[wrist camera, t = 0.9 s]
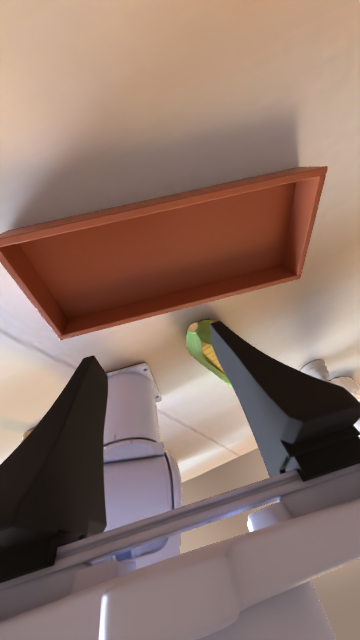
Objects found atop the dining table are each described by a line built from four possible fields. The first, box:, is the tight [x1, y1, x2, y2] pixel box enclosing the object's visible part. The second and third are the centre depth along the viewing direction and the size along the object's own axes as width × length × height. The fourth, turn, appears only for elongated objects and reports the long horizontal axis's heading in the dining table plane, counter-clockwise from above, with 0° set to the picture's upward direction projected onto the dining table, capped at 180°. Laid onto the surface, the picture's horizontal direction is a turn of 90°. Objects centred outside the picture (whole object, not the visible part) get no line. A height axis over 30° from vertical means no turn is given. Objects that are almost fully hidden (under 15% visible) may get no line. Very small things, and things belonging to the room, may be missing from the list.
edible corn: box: [186, 319, 233, 388], centre depth 27 cm, size 5×20×5 cm, turn 36°
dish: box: [0, 167, 328, 340], centre depth 17 cm, size 9×24×3 cm, turn 99°
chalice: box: [300, 360, 360, 437], centre depth 30 cm, size 7×7×18 cm
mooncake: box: [328, 377, 360, 402], centre depth 44 cm, size 12×12×4 cm
